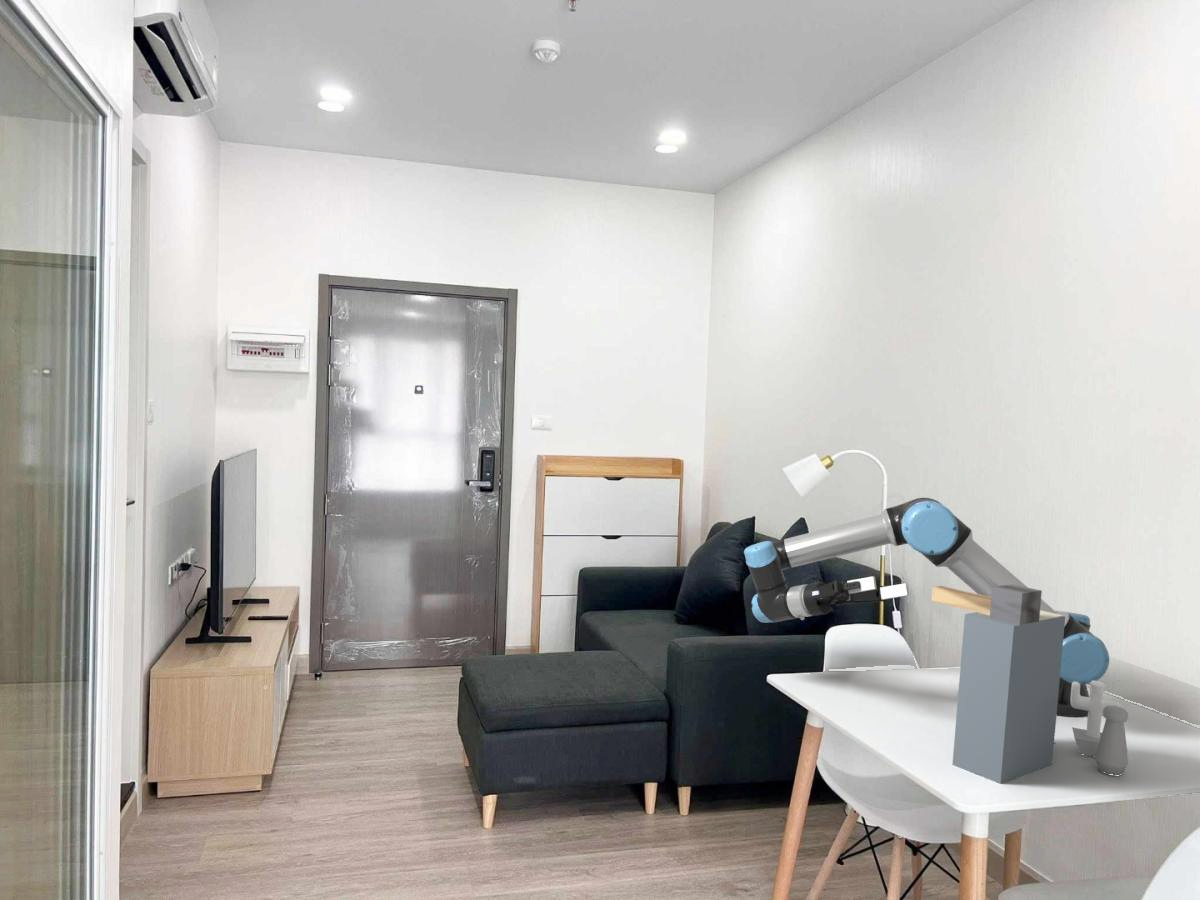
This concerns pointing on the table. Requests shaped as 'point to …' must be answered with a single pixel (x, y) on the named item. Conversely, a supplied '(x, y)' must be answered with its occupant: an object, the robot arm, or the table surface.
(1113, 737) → the salt shaker
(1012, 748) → the tall grey pillar
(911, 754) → the table surface
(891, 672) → the table surface
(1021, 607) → the hammer
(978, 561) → the robot arm
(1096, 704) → the figurine
